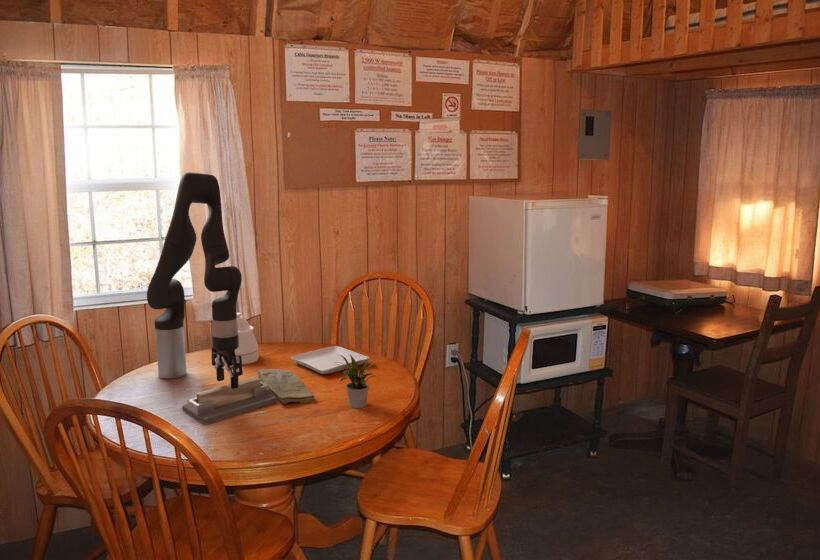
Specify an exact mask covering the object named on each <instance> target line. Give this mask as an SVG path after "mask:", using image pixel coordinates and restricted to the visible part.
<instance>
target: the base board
mask: <svg viewBox="0 0 820 560" xmlns="http://www.w3.org/2000/svg"><path fill="white" fill-rule="evenodd" d="M276 403H277V399H276V397H274V396H273V395H272V394H271V393H269V394H268V395H265V396H261V397H258V398H254V397H250V398H246V399H243V400H239V401H236V402H233V403H229V404H226V405H223V406H219V407H216V408H213V409H214V411H211V412H208V413H204V414H201V415H196V414H195V413H193V412H191V411H190V410H188V403H187V404H186V403H185V404H183V405H181V410H183V412H184V413H186V414H187V415H189V416H190V417H192V418H194V419H195V420H197V421H198V420H199V422H200V423H202V424H203V425H207V424H211V423H213V422H216V421H219V420H223V419H227V418H230V417H234V416H237V415H239V414H242V413H243V414H244V413H246V412H249V411H250V412H251V411H252V410H256V409H259V408H262V407H265V406H269V405H272V404H276Z"/></svg>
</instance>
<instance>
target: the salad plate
mask: <svg viewBox="0 0 820 560" xmlns="http://www.w3.org/2000/svg"><path fill="white" fill-rule="evenodd" d="M338 354H339V355H338ZM340 355H341V356H340ZM350 355H351V356H352V357H353V358H354V359H355V361H356V363H358V362H359V363H358V366H360V365H364V364H365V362H366V360H367V358H368V360H367V362H368V361H369V360H370V357H369V356H367V355H364V354H361V353H359V352H356V351H353V350H351V349H350V350H349V349H347V348H344V347H342V346H338V345H334V346H329V347H324V348H323V347H322V348H320V349H316V350H315V349H314V350H311V351H307V352H304V353H299V354H296V355H292V356H290V358H291V360H292V361H293V362H295V363H296V364H298V365H300V366H303V367H306V368H308V369H310V370H313V371H314V372H317V373H318V374H322V375H328V374H329V373H330V374H333V372H334V373H337V372H336V371H338V372H341V371H340V370H342V371H345V370H344V368H345V369H346V370H348V369H347V368H349V367H348V365H347V363H346V361H345V360H344V358H343V357H345V358H346V360H347V361H348V363H349V365H350V367H352V361H351V357H350ZM342 356H343V357H342ZM359 356H360V357H359ZM358 359H359V360H358ZM333 362H339V363H333ZM341 363H342V364H341ZM343 364H344V365H345V366H346V367H347V368H346V367H345V366H344V365H343ZM342 366H343V367H344V368H343V367H342ZM352 368H353V367H352Z"/></svg>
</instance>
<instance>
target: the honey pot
mask: <svg viewBox="0 0 820 560" xmlns="http://www.w3.org/2000/svg"><path fill="white" fill-rule="evenodd" d="M237 322H238V337H239V347H238V348H237V349H236V350H235V354H236V356H241V358H242V365H247V364H251V363H255V362H257V361H258V360H259V358H260V357H259V355H260V354H259V344H258V342H257V339H256V335H255V334H254V332H253V331H254V329H255V327H254V326H252V325H250V324H249V322H248V320H247V319H246V318H245V317H244V316H243V315H242V313H241V312H237Z"/></svg>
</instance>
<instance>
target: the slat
mask: <svg viewBox="0 0 820 560" xmlns="http://www.w3.org/2000/svg"><path fill="white" fill-rule="evenodd" d="M238 384H239V386H238V388H235V389H232V388H231V383H230V384H226V385H222V386H219V387H215V388H211V389H207V390H204V391H201V392H197V393H196V397H197V403H198V404H200V403H203V402H207V401H210V400H212V401H213V408H216V407H219V406H223V405H226V404H229V403H233V402H236V401H239V400H243V399H246V398H250V397H253V388H256V387H259V386H260V379H259V378H258V377H256V376H254V377H251V378H248V379H244V380H240V381H238Z"/></svg>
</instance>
